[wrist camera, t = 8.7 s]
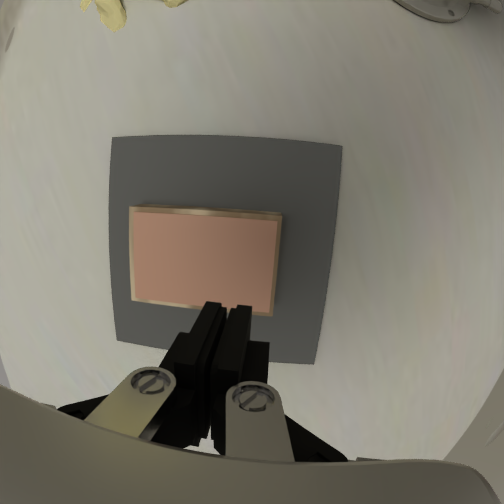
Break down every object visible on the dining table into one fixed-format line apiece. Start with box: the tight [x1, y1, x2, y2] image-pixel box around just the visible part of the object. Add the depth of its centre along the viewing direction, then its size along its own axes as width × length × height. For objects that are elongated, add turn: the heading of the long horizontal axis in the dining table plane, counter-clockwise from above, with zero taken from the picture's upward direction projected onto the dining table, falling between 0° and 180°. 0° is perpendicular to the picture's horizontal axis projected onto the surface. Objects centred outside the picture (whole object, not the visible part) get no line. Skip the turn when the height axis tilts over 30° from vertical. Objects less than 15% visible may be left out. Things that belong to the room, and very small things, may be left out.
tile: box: [129, 204, 282, 316], centre depth 25 cm, size 3×8×12 cm
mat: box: [109, 135, 342, 364], centre depth 26 cm, size 20×20×1 cm
